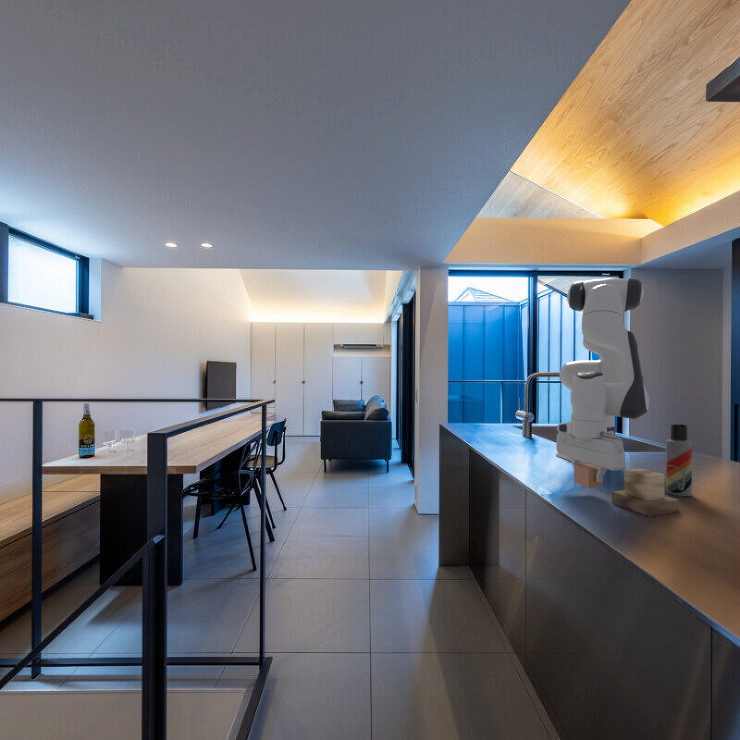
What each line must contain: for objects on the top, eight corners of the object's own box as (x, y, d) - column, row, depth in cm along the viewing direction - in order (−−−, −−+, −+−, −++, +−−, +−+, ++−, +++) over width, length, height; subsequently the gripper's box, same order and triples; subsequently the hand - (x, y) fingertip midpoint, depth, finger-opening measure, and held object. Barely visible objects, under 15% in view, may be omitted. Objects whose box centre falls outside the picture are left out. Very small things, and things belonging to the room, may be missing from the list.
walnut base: (611, 502, 102) (611, 491, 102) (639, 499, 105) (639, 488, 105) (649, 516, 92) (649, 504, 92) (678, 511, 95) (678, 499, 95)
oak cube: (624, 493, 101) (624, 470, 101) (641, 490, 102) (641, 468, 102) (646, 500, 95) (646, 476, 95) (664, 498, 97) (664, 474, 97)
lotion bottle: (670, 495, 108) (670, 424, 108) (663, 489, 113) (663, 422, 113) (695, 498, 106) (695, 425, 106) (686, 491, 111) (686, 422, 111)
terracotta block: (574, 482, 110) (574, 465, 110) (587, 480, 111) (587, 463, 111) (588, 487, 105) (588, 469, 105) (602, 485, 106) (603, 468, 106)
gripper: (632, 435, 99) (631, 488, 99) (569, 423, 118) (569, 467, 118) (613, 436, 97) (612, 491, 97) (552, 424, 116) (552, 469, 117)
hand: (588, 478), depth 108 cm, fingers closed on terracotta block, 5 cm apart
